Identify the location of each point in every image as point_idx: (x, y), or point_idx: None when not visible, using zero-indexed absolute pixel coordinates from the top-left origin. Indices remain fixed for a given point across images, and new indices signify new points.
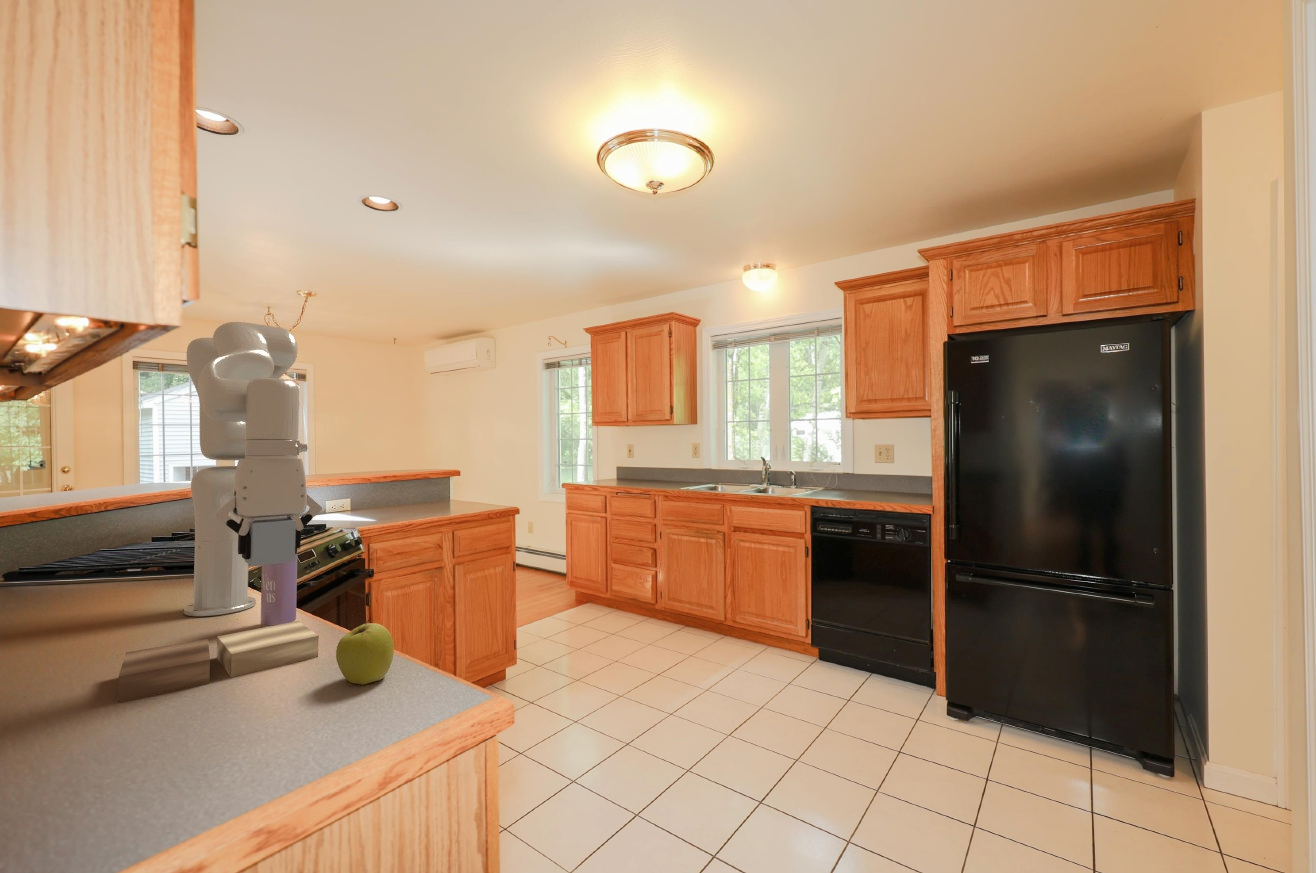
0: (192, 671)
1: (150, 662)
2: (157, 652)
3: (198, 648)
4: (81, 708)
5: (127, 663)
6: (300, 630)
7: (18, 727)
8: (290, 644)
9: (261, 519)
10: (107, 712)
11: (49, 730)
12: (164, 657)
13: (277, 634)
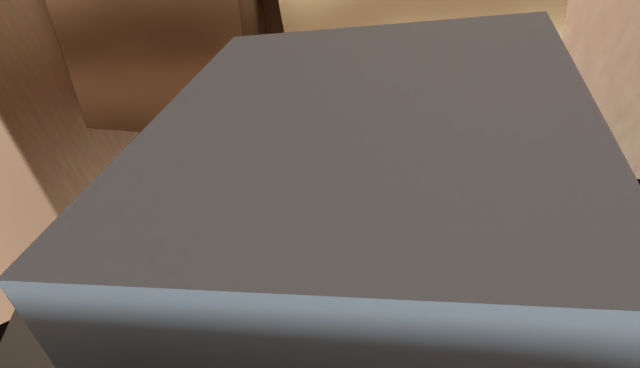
0: None
1: (119, 61)
2: None
3: (212, 4)
4: (65, 89)
5: (64, 31)
6: (531, 3)
7: (6, 117)
8: None
9: (215, 316)
10: (121, 145)
11: (64, 165)
12: (140, 37)
13: (447, 2)
